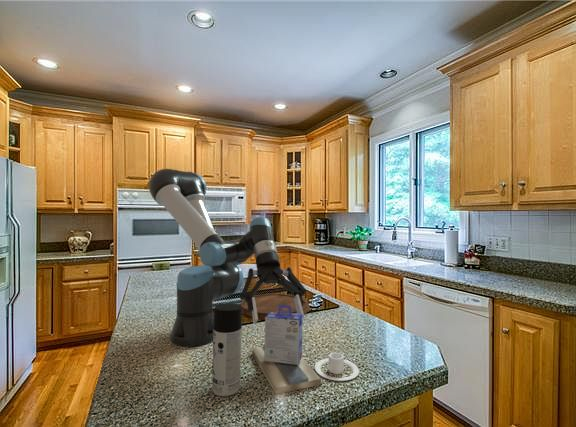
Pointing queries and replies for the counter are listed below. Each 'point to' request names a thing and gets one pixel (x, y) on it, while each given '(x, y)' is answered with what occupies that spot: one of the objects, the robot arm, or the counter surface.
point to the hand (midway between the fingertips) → (279, 319)
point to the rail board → (286, 373)
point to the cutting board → (272, 304)
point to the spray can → (227, 349)
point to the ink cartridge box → (283, 336)
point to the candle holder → (336, 367)
